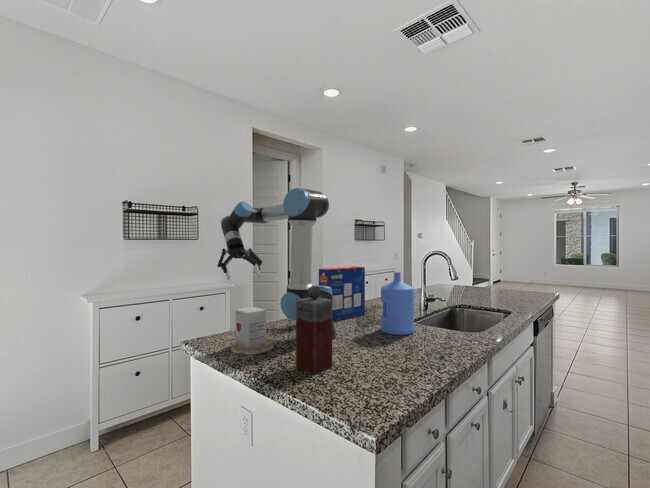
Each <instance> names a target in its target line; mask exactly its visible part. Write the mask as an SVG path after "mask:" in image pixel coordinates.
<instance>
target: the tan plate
mask: <svg viewBox="0 0 650 488" xmlns="http://www.w3.org/2000/svg"><path fill="white" fill-rule="evenodd" d="M229 343H230V351H231V352H233V353H235V354H238V355H257V354H262V353H267V352H269V351H271V350H273V349H274V347H275V340H274V338H273V337H271V336H270V337H269V336H268V335H266V345H263V346H259V347H239V346H236V338H234V339H233V340H232V341H230V342H229Z"/></svg>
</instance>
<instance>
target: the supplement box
mask: <svg viewBox="0 0 650 488" xmlns="http://www.w3.org/2000/svg"><path fill="white" fill-rule="evenodd" d="M266 315H267V311H266V309H263V308H259V307H256V306H250V307H244V308H238V309H237V308H236V309H235V339H236V346H239V347H259V346H263V345H266V336H267V335H266V333H267V330H266V327H267V326H266V324H267V323H266V320H267V318H266Z"/></svg>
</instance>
